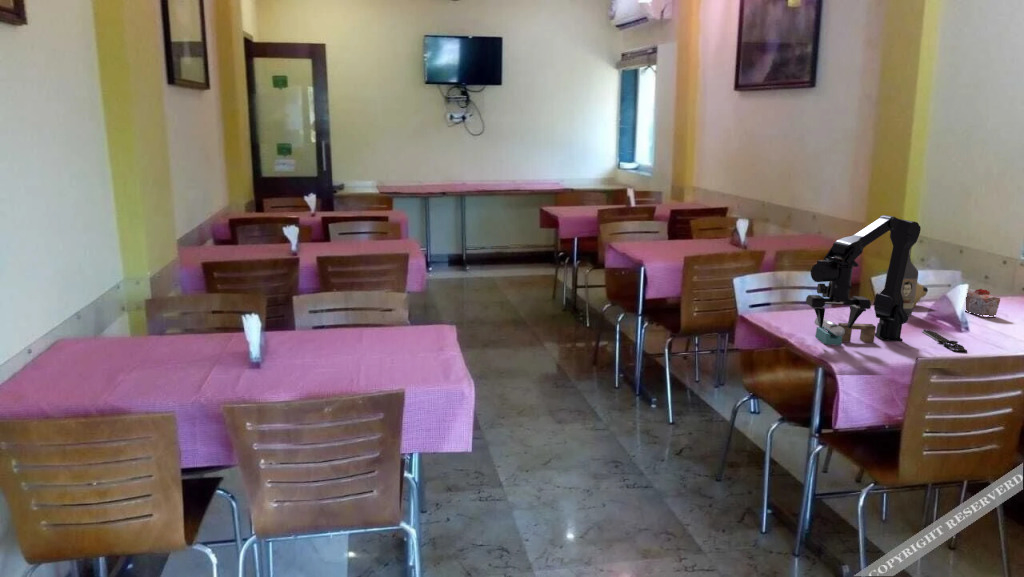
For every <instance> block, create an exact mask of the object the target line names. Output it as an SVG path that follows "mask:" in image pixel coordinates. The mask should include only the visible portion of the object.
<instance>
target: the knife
mask: <svg viewBox="0 0 1024 577" xmlns="http://www.w3.org/2000/svg"><path fill="white" fill-rule="evenodd" d="M921 332H922V333H924V334H925V335H927V336H929V337H930V338H932V339H933V340H935V341H936V342H937V343H936V344H939V345H943V347H944V348H946V349H947V350H949V349H952V352H953V353H961V354H962V353H963V354H965V353H966V354H967V353H968V349H965V347H964V346H963V345H962V344H959V341H956V340H949V339H947V338H946V337H944V336H943V335H941V334H939V333H938V332H936V331H933V330H929V329H923V330H922V331H921ZM948 343H950V344H948ZM951 344H955V345H951Z"/></svg>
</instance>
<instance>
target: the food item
mask: <svg viewBox="0 0 1024 577" xmlns="http://www.w3.org/2000/svg"><path fill="white" fill-rule="evenodd" d="M967 290H968V293H967V297H966V310H967V311H968V312H967V313H969V312H971V313H975V314H979V315H982V316H983V315H989V316H994V315H996V316H997V312H998V309H999V305H1000V303H1001V297H997V296H995V295H991V294H990V291H988V289H982V288H980V289H972V288H968V289H967Z"/></svg>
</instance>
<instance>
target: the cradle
mask: <svg viewBox="0 0 1024 577" xmlns="http://www.w3.org/2000/svg"><path fill="white" fill-rule="evenodd" d="M815 338H816V339H817V340H819V341H820V342H821V343H822V344H824V345H831V344H834V346H835V345H836V346H837V345H838V346H841V345H842V342H843V341H842V336H841V337H839V336H836V335H834V334H832V333H830V332H828V331H827V330H825V329H823V328H820V327H819V326H817V327H816V330H815Z"/></svg>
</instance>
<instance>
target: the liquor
mask: <svg viewBox="0 0 1024 577" xmlns="http://www.w3.org/2000/svg"><path fill="white" fill-rule="evenodd" d="M912 248H913V246H912V247H911V248H910V251H909V256H908V260H907V265H906V269H905V274H904V278H903V283H902V288H901V294H902V297H903V300H904V305H903V309H904V311H905V312H906V314H907V315H908V317H910V316H911V315H912V313H913V312H914V311H913V310H914V306H913V305H914V299H915V293H916V286H917V282H918V279H919V270H918V269H917V267H916V266H915V264H914V263H913V262H912V258H911V256H912V255H911V254H912ZM887 273H888V269H887V270H886V276H885V279H886V278H887Z"/></svg>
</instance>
